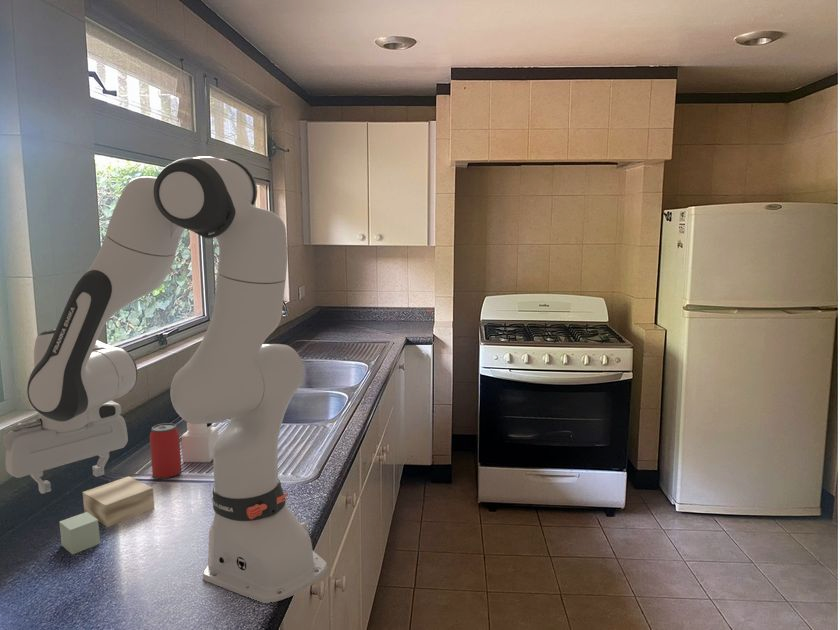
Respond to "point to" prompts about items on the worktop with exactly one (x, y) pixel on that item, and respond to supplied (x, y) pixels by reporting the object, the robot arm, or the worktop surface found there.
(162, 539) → the worktop surface
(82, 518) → the sage block
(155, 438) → the beer can
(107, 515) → the birch block
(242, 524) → the robot arm
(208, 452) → the medicine bottle
